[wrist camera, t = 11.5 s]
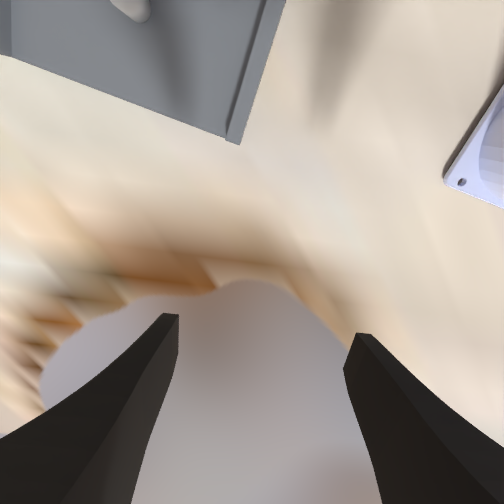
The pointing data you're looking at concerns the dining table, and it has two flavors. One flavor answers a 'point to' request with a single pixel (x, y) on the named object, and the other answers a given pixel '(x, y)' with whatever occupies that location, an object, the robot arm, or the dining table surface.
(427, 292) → the dining table surface
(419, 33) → the dining table surface
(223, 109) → the pin tray
